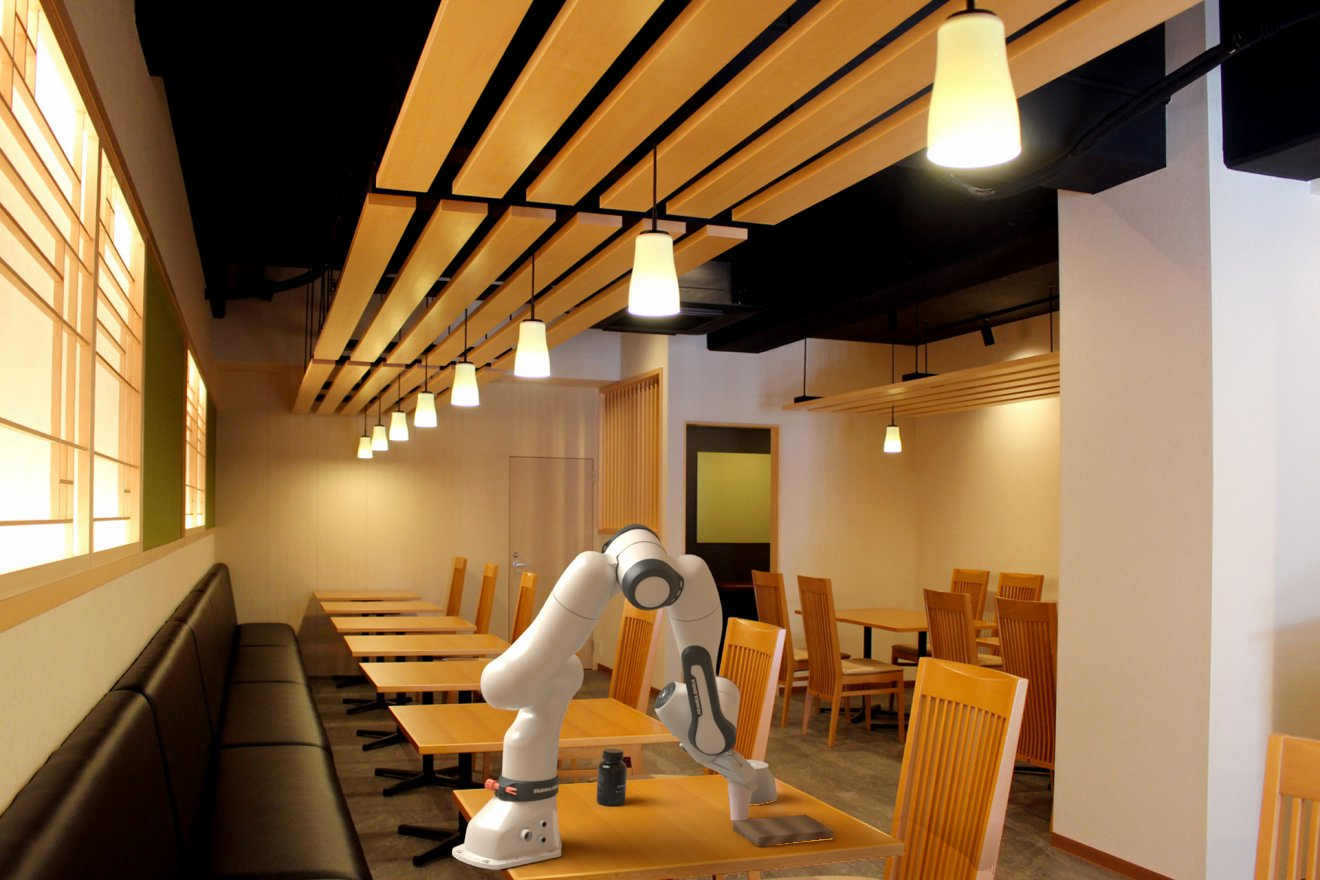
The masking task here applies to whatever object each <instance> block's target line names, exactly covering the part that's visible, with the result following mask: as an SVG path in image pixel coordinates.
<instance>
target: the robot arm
mask: <svg viewBox="0 0 1320 880" xmlns="http://www.w3.org/2000/svg"><path fill="white" fill-rule="evenodd" d="M621 592H622V593H623V595H624V597H625V599H626V600H627V601H628V603H630V604H631V606H633V607H635V608H636V609H638V610H640V611H641V610H642V611H646V612H647V611H657V610H660V609H663V608H665V607H666V610H667V615H668V619H669V622H670V625H671V629H672V632H673V636H674V640H675V643H676V646H677V650H678V655H679V659H680V662H681V667H682V670H683V677H684V682H685V683H683V682H678V681H672V682H669V683H668V684H667V685H665V686H664V687H663V688H662V689H661V690H660V692H659V693H658V694H657V696H656V699H655V703H654V711H655V713H656V716H657V717H658V719H659V720H660V722H661V723H662V725H663V726H664V727H665V728H666V729H667V731H668V732H669V733H670V734H671V735H672V736H673V737H675V738H677V739H678V740H679V741H680V743H679V747H680V748H681V750H682V751H684V752H685V753H687V754H688V755H690V757H691V758H692V759H693V760H695V762H696V763H698V764H701V765H702V766H704V767H705V768H708V769H710V770H712V771H715V772H717V773H719V774H720V775H721V776H722V777H724V779H725V780H726V779H727V777H730V778H732V779H734V780H736V781H738V782H741V783H743V784H745V785H746V788H747V789H748V790H749V791H751V792H755V791H756V789H757V788H758V786H757V785H756V783H755V782H754V779H755V778H756V776H757V771H756V770H755V769H754V768H753V767H752V766H751V765H750V763H749V762H748V761H747V760H748V759H746V758H745V757H744V756H743V755H742V754H741V753H740V752H738V751H736V750H735V749H734V747H735V746H736V742H737V728H738V719H739V713H740V712H739V710H740V706H741V705H740V704H741V691H740V689H739V687H738V685H737V683H735V682H734V681H732V680H731V679H729V678H728V677H726V676H725V677H724V676H720V675H719V676H718V675H717V673H716V672H717V671H716V670H717V662H718V654H719V647H720V643H721V639H722V638H721V637H722V632H723V610H722V609H723V608H722V605H721V604H722V603H721V600H720V595H719V591H718V588H717V585H716V582H715V579H714V577H713V575H712V572H711V571H710V569H709V566H708V564H707V563H706V561H705V560H704V559H702V557H699V556H697V555H695V554H682V555H678V556H676V557H672V556H669V555H668V553H667V551H666V549H665V547H664V545H663V543H662V542H661V539H660V537H659V536H658V535H657V534H656V532H655V531H654V530H652V529H651V528H650V527H648V526H647V525H644V524H643V523H642V524H641V523H632V524H627V525H626V526H624V527H622V528H620V529H619V530H618V531H617V532H615V533H614V535H613V536H612V537H611V538H610V539H608V540H606V541H605V542H604V543H603V545H602V548H601V551H600V552H598V551H593V550H587V551H586V550H585V551H583V552H581V553H579V554H578V555H577V556H576V557H575V558H574V560H572V561H571V563H569V565H568V566H567V568H566V569H565V570H564V572H563V573H562V574H561V576H560V577H559V579H558V581H557V582H556V583H555V585H554V586H553V589H552V590H551V592H550V594H549V596H548V597H547V599H546V600H545V602H544V605H542V608H541V610H540V611H539V612H538V614H537V616H536V617H535V619H534V620H533V622H532V623H531V624H530V625H529V626H528V627H527V628H526V629H525V631H524V632H523V633H522V634H521V635H520V636H519V637H518V638H517V640H515V641H514V642H513V643H512V645H511V646H509V647H508V648H507V650H506V651H504V652H503V653H502V654H501V655H499V656H498V657H496V658H495V659H493V660H492V661H490V662H489V663H487V664H486V665H485V667H484V669H483V671H482V673H481V675H480V691H481V694H482V697H483V698H484V701H486V703H487V704H488V705H489V706H490V707H492V708H494V709H498V710H507V711H518V712H517V716H516V718H515V720H514V721H513V723H512V724H511V726H510V727H509V728H508V729H507V730H506V732H505V734H504V737H503V742H502V743H503V745H502V746H503V747H502V748H503V749H502V751H503V752H502V766H501V767H502V768H501V769H502V770H501V771H502V772H501V773H500V776H499V778H498V779H497V780H493V779H491V778H488V779H487V780H486V782H484V788H485V789H486V790H489V791H492V792H493V794H494V795H493V796H492V798H490V800H489V801H488V802H487V803H486V804H485V805H484V806H483V807H482V808H481V809H480V810H479V811H478V812H477V814H475V815H474V816H473V817H472V818H471V819H470V820H469V822H468V824H467V827H466V831H465V832H466V833H465V838H464V842H463V843H462V844H459V845H457V846H454V847H453V848H452V851H451V853H452V856H453V857H454V858H456V859H457V860H458V861H461V862H463V863H465V864H467V865H471V866H474V867H478V868H480V869H481V868H483V869H487V870H498V871H499V870H503V869H507V868H508V869H509V868H512V867H518V866H522V865H523V866H524V865H527V864H531V863H532V864H533V863H537V862H540V861H546V860H551V859H555V858H559V857H561V856H562V847H563V844H562V840H561V834H560V830H559V829H560V827H559V814H558V807H557V806H558V805H557V795H558V794H559V787H560V785H559V784H560V783H559V779H560V778H559V775H558V772H557V770H558V758H559V757H558V755H559V754H558V753H559V741H560V734H561V730H562V726H563V722H564V720H565V718H566V717H565V716H566V713H567V711H568V707H569V706H570V704H571V701H572V700H573V698H574V696H575V695H576V693H577V692H578V691H579V690H580V688H581V687H582V684H583V681H584V675H585V674H584V668H583V667H584V666H583V663H582V662H581V659H580V658H579V657H578V655H576V654H577V653H579V651H581V650H582V649H583V648H584V646H585V644H586V643H587V642H588V639H589V638H590V636H591V635H592V632H593V631H594V629H595V628H596V626H597V624H598V623H599V620H600V619H601V617H602V615H603V613H605V610H606V608H607V607H608V604H609V603H610V602H611V600H612V599H613V598H614V597H616V595H618V594H620V593H621Z"/></svg>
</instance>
